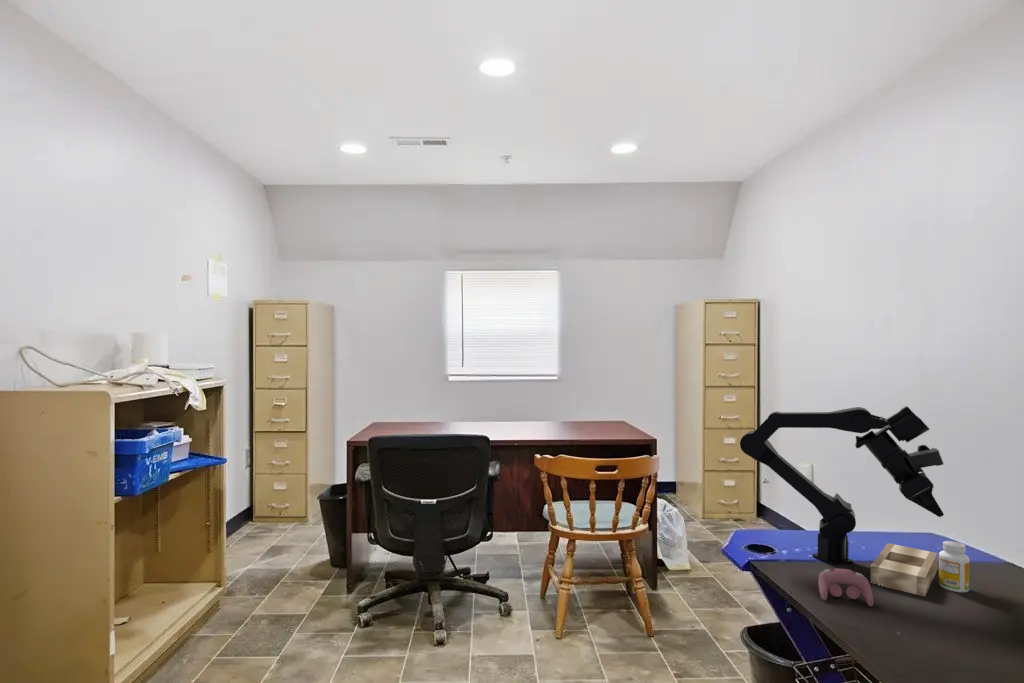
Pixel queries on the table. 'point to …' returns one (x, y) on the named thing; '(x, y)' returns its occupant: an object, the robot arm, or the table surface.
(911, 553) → the holder block
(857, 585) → the video game controller
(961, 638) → the table surface
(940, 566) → the supplement bottle
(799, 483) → the robot arm
